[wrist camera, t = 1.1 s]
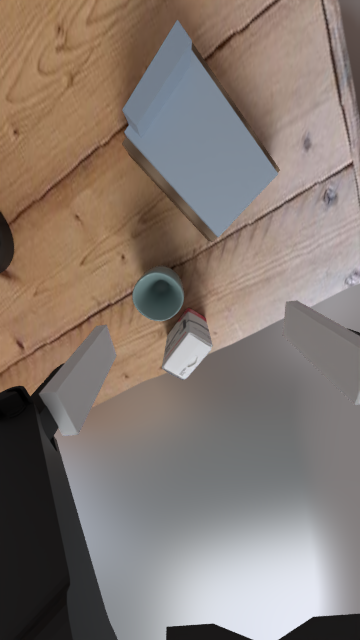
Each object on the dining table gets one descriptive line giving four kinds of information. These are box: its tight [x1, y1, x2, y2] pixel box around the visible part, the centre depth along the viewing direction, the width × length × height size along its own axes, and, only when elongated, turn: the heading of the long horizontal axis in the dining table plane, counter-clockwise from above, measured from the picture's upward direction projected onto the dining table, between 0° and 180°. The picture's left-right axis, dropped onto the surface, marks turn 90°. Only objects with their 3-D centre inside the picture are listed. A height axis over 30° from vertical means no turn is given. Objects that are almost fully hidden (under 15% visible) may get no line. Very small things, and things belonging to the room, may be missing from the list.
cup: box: [132, 265, 184, 321], centre depth 34 cm, size 8×8×10 cm
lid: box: [123, 20, 278, 237], centre depth 25 cm, size 18×11×4 cm, turn 47°
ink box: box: [162, 308, 213, 380], centre depth 37 cm, size 9×5×12 cm, turn 147°
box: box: [122, 43, 280, 242], centre depth 29 cm, size 18×13×4 cm
